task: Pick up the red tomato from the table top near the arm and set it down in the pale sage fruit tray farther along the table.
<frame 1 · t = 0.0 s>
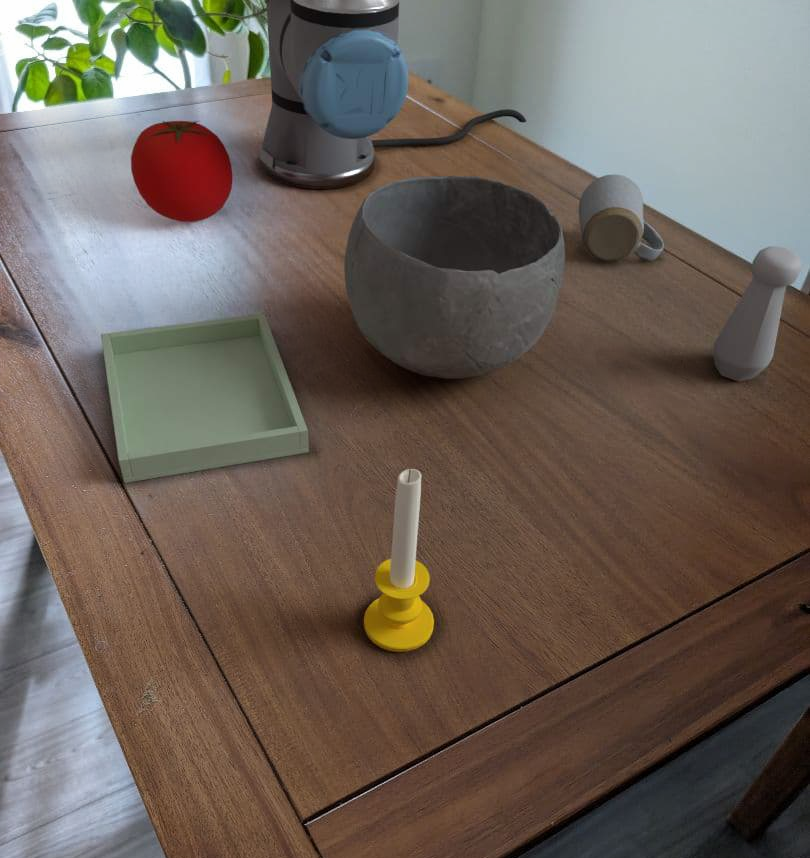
salt shaker: (734, 371, 89), on the table
ceramic mug: (615, 251, 105), on the table
candle: (398, 625, 64), on the table
bowl: (444, 355, 88), on the table
fruit tray: (202, 402, 81), on the table
tomato: (188, 213, 106), on the table
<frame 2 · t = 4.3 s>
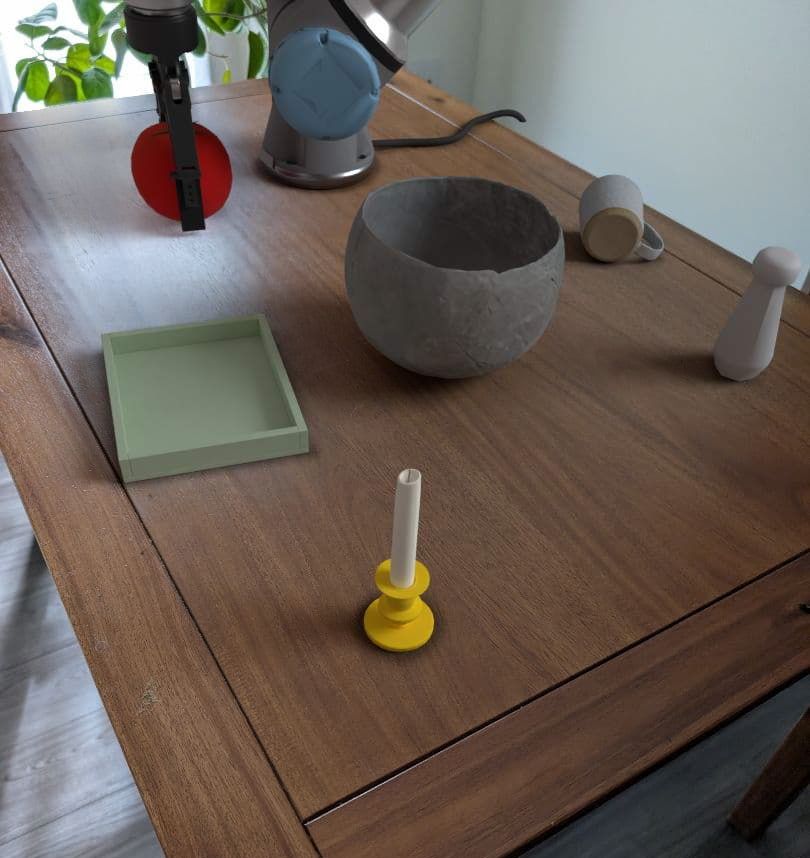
hand: (186, 205, 105), 1 cm above the table, tool pointing down, fingers closed on tomato, 12 cm apart
tomato: (188, 213, 106), on the table, touching gripper
everything else where it was.
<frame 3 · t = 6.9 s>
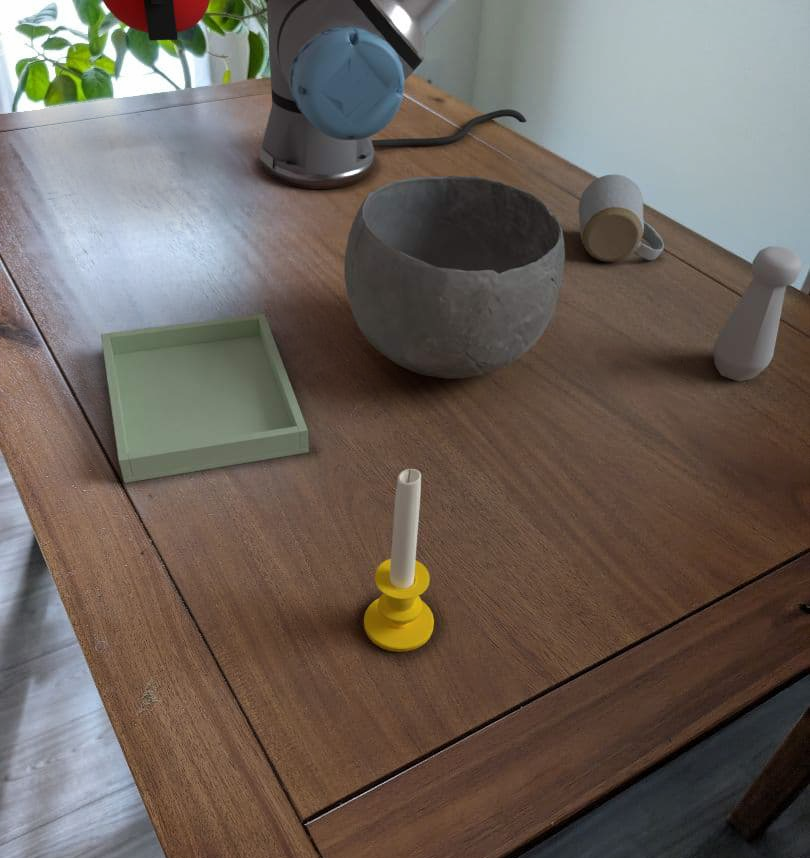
hand: (158, 18, 88), 22 cm above the table, tool pointing down, fingers closed on tomato, 12 cm apart
tomato: (160, 30, 89), point 21 cm above the table, touching gripper
everything else where it was.
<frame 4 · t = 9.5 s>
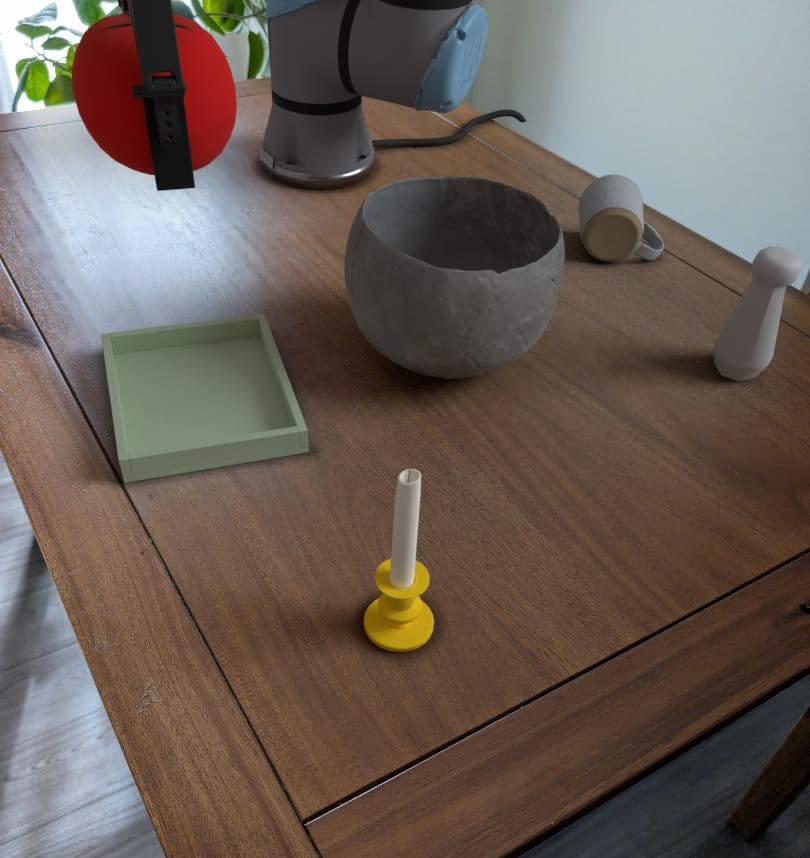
hand: (165, 152, 67), 22 cm above the table, tool pointing down, fingers closed on tomato, 12 cm apart
tomato: (166, 165, 67), point 21 cm above the table, touching gripper
everything else where it was.
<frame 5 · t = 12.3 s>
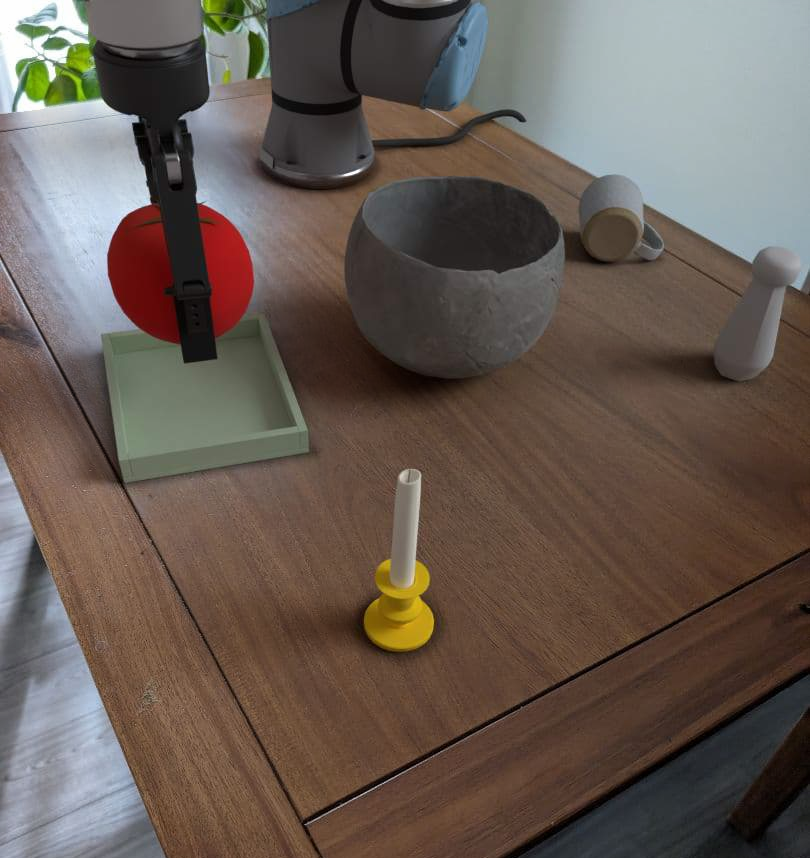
hand: (189, 317, 74), 9 cm above the table, tool pointing down, fingers closed on tomato, 12 cm apart
tomato: (190, 327, 75), point 8 cm above the table, touching gripper
everything else where it was.
when the fingers open (1 cm above the table, at t = 14.9 s): tomato stays where it is, resting on fruit tray.
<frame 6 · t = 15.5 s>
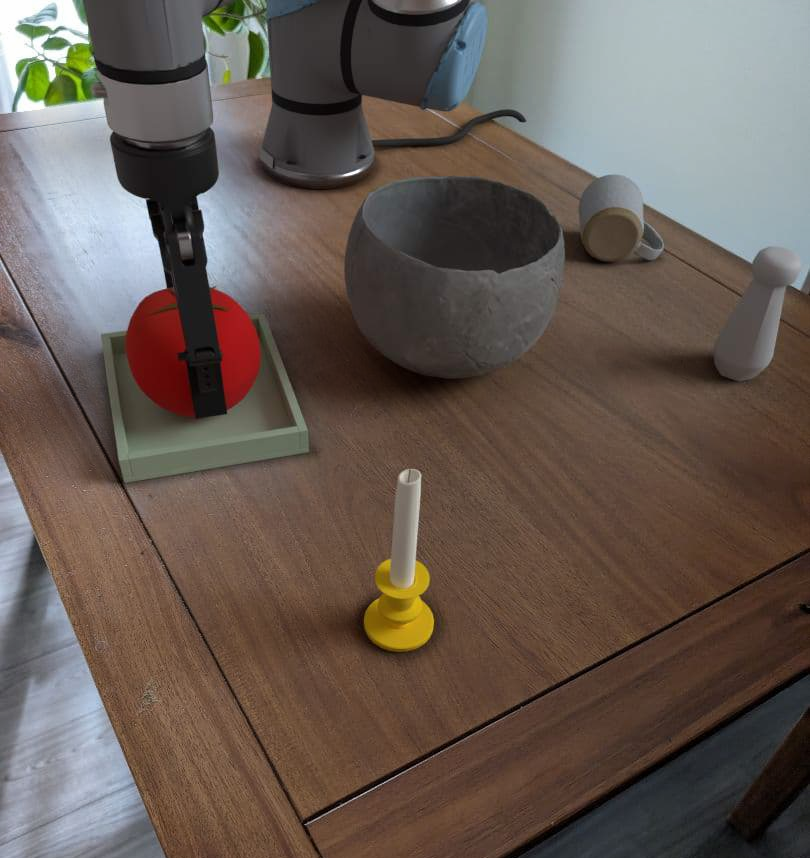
hand: (199, 368, 78), 4 cm above the table, tool pointing down, fingers open, 13 cm apart
tomato: (201, 398, 80), resting on fruit tray
everything else where it was.
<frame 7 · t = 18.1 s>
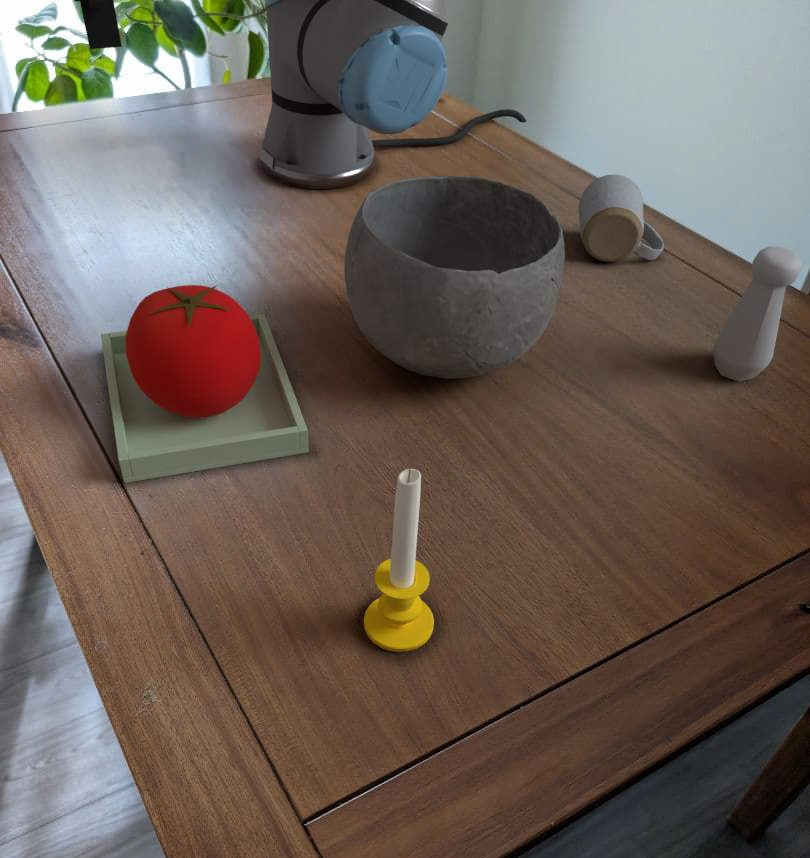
hand: (96, 22, 80), 24 cm above the table, tool pointing down, fingers open, 13 cm apart
nothing on the table moved.
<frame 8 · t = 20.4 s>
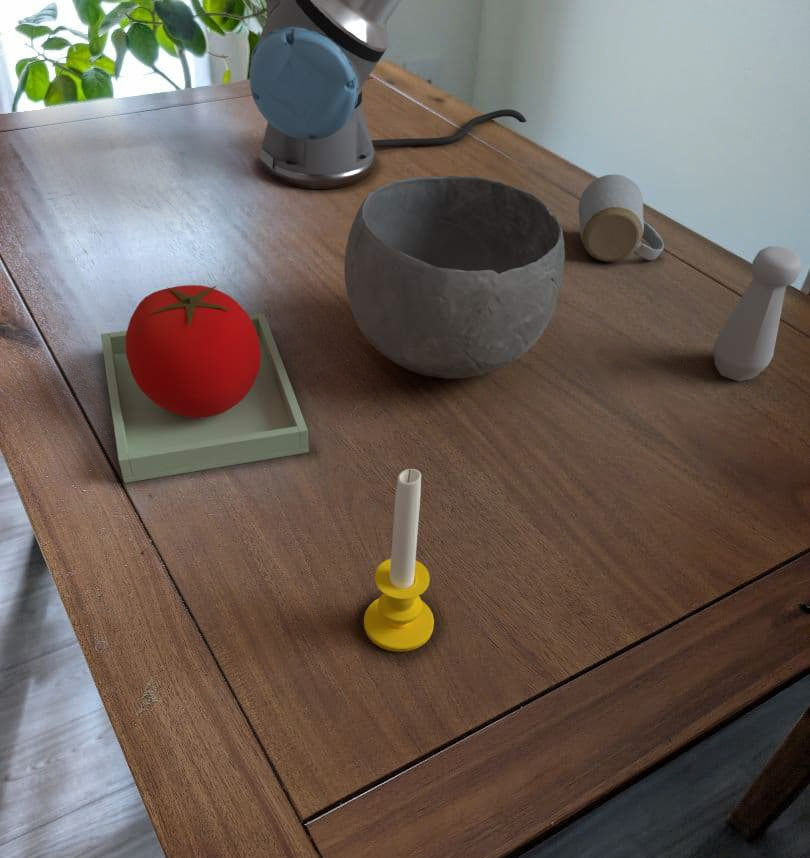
nothing on the table moved.
at the end: tomato inside the target area in the fruit tray (0.1 cm from its centre), point 0.4 cm above the fruit tray's base; the gripper is holding nothing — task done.
